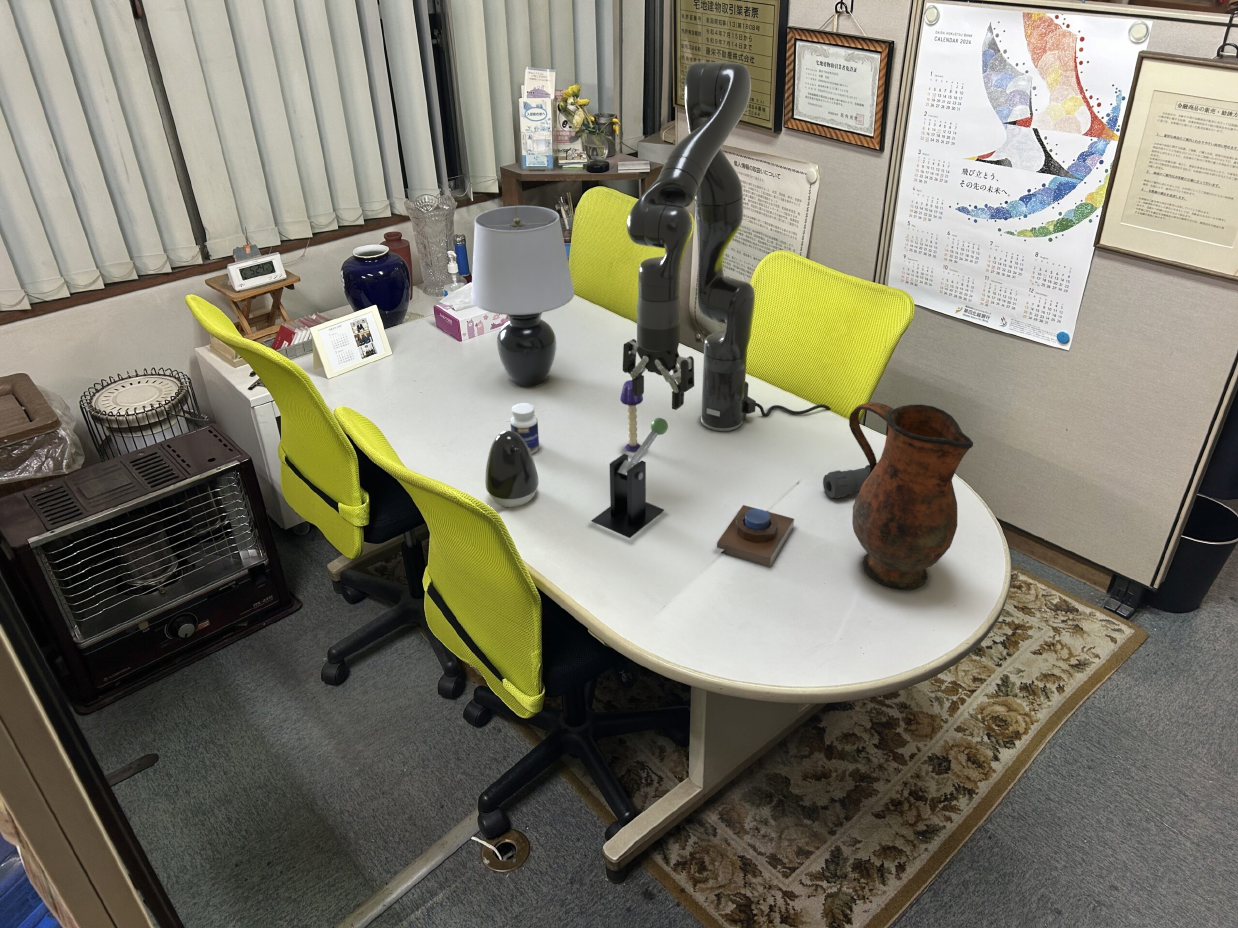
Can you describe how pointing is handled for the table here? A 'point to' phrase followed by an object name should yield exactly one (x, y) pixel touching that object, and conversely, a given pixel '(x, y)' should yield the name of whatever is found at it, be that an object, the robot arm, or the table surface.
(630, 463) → the switch lever
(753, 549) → the button block
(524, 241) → the lamp
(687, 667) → the table surface
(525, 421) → the pill bottle
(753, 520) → the light button
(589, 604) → the table surface
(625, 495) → the switch bracket
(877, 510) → the pitcher
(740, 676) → the table surface
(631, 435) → the toy lamp
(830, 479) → the flashlight
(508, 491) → the black egg-shaped dome
